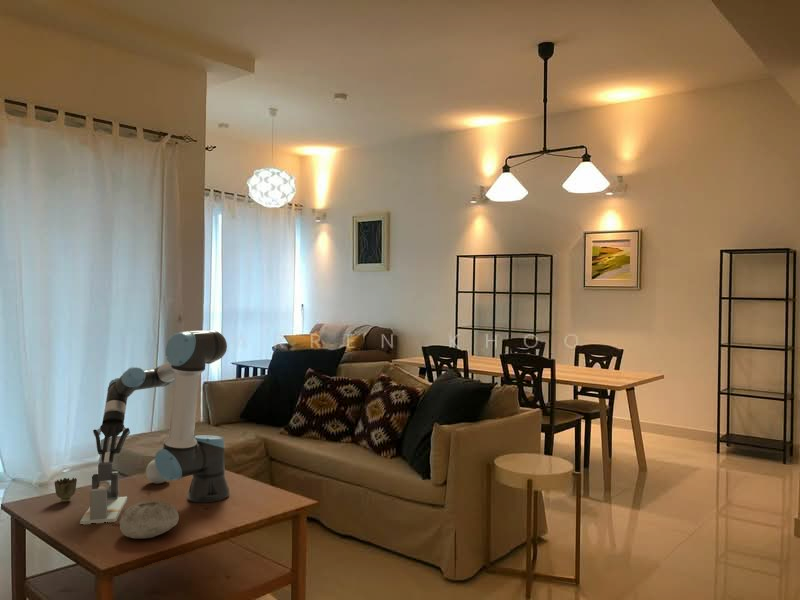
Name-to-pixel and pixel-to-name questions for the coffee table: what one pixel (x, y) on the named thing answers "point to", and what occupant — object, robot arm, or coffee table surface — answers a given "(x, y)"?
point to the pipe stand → (103, 505)
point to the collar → (106, 478)
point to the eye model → (153, 473)
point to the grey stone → (148, 519)
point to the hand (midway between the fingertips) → (105, 469)
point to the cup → (65, 489)
